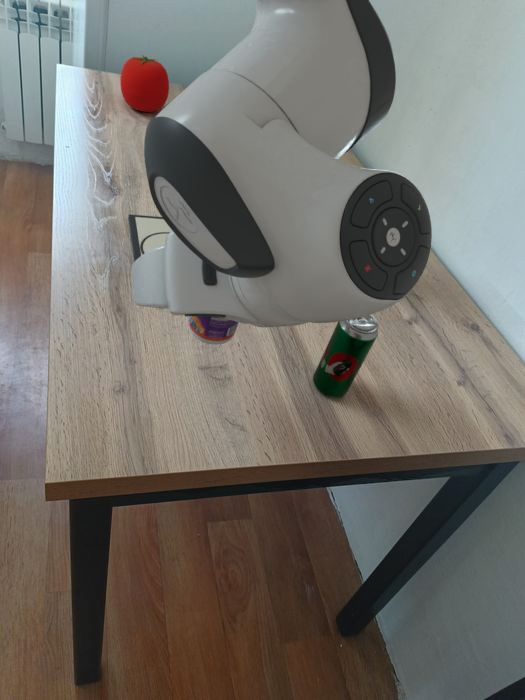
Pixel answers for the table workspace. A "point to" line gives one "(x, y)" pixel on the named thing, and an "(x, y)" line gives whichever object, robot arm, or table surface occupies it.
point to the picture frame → (147, 233)
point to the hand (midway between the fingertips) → (218, 289)
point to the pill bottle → (212, 329)
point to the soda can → (345, 355)
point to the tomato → (144, 84)
